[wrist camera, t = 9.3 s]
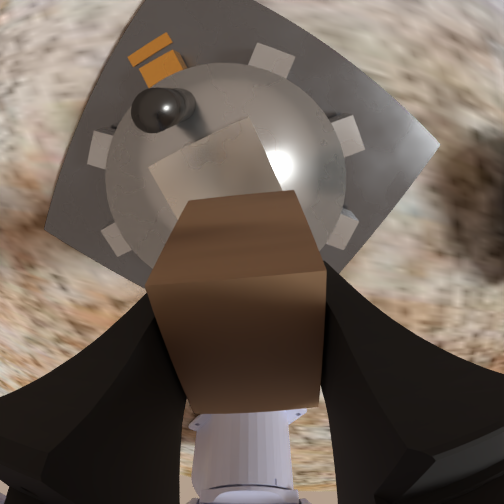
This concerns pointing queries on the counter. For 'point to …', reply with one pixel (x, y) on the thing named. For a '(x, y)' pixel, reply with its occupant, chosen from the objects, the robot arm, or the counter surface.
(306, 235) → the link block
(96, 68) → the counter surface
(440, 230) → the counter surface
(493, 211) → the counter surface
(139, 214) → the sprocket
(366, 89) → the plate
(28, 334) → the counter surface
